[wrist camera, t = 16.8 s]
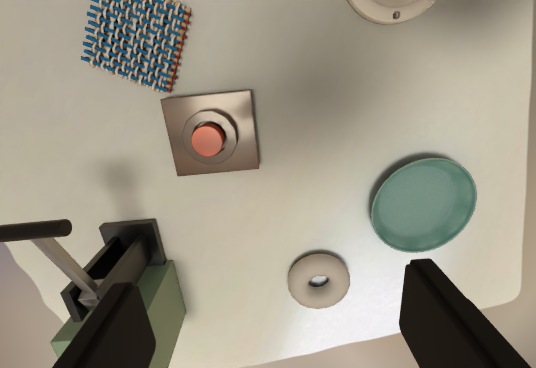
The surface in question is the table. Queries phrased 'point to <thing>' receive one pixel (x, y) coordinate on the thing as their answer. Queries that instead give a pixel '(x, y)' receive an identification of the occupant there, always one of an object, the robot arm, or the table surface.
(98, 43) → the woven mat
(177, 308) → the toaster
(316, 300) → the donut
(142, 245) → the bracket
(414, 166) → the saucer
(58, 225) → the lever
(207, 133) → the button
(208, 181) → the table surface
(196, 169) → the control block
